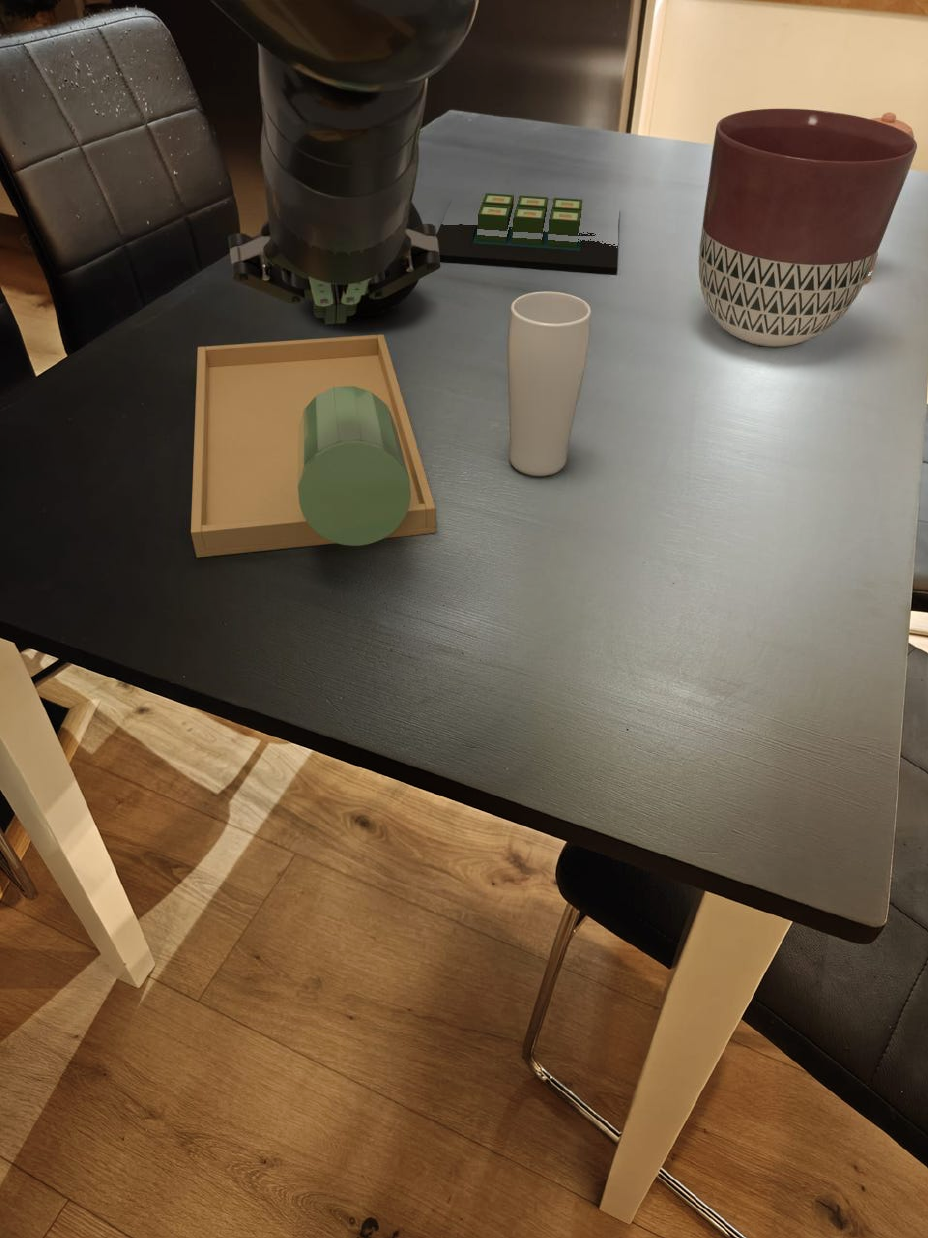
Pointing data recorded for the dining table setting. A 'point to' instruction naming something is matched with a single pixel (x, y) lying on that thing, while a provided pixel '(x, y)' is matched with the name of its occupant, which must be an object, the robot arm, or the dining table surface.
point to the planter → (795, 218)
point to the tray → (280, 439)
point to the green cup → (351, 467)
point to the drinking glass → (545, 377)
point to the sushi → (523, 252)
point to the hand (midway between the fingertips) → (334, 309)
